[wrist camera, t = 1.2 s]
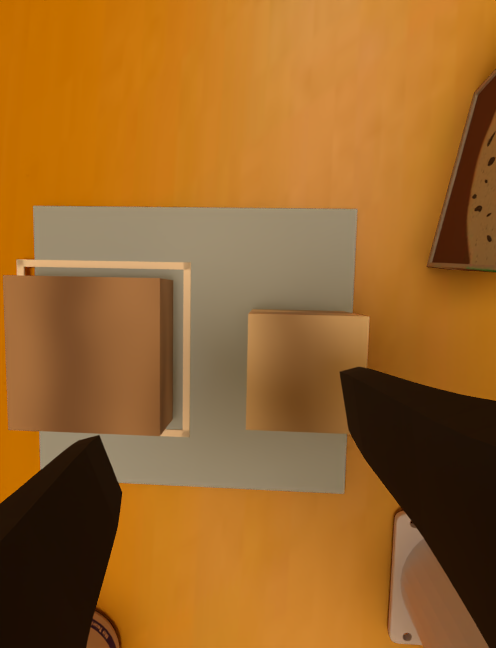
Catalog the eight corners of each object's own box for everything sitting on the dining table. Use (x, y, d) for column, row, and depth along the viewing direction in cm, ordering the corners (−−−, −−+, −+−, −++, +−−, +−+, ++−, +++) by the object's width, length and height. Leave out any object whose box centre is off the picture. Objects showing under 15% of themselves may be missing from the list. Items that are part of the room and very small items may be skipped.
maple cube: (343, 311, 20) (369, 316, 15) (339, 399, 20) (363, 434, 15) (252, 308, 20) (248, 313, 15) (250, 396, 20) (245, 429, 15)
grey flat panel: (354, 211, 20) (357, 208, 19) (342, 489, 21) (344, 494, 20) (22, 208, 21) (14, 205, 20) (30, 473, 22) (23, 478, 21)
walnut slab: (173, 280, 20) (160, 278, 17) (172, 419, 21) (159, 436, 18) (35, 277, 20) (2, 275, 18) (39, 413, 21) (8, 429, 19)
